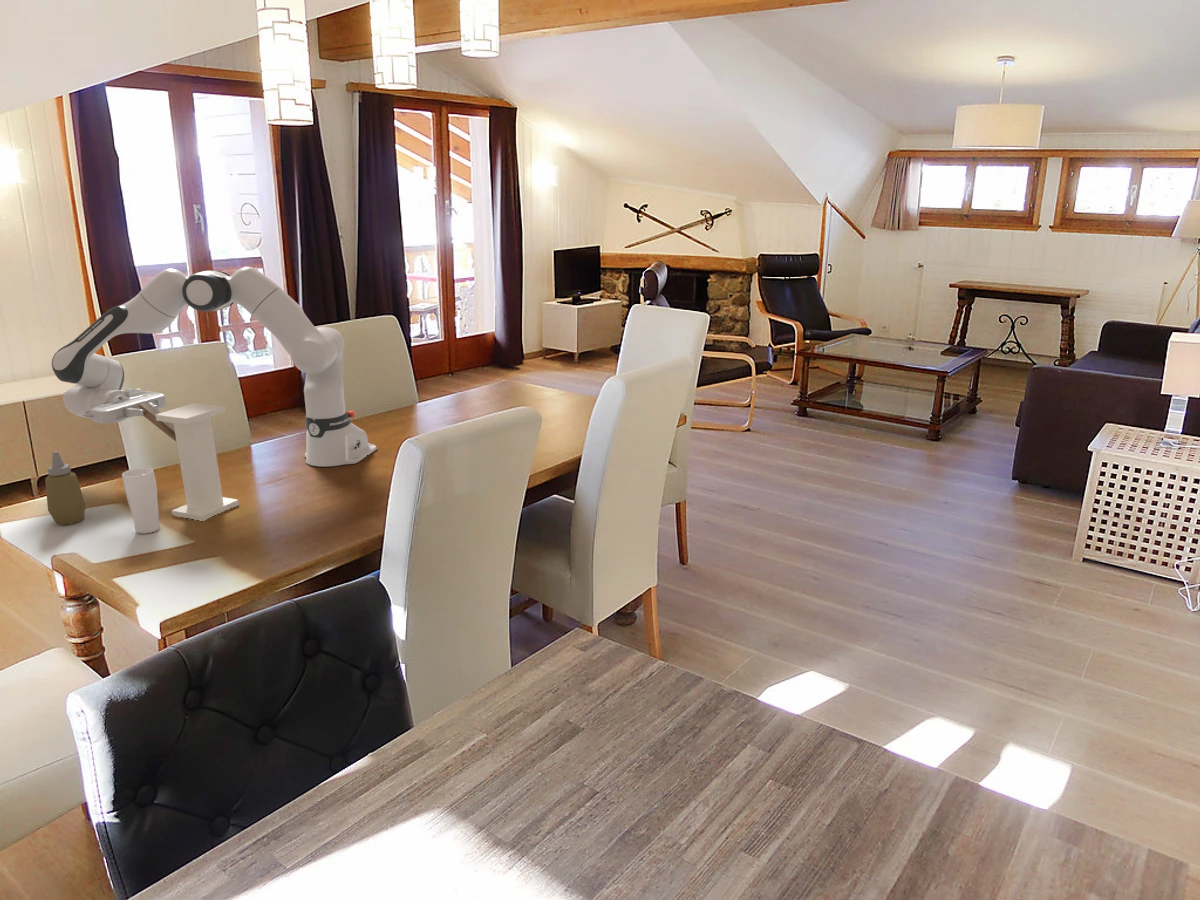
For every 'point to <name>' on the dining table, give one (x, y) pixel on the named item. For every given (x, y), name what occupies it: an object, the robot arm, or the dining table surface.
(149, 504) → the drinking glass
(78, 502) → the squeeze bottle
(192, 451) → the shelf stand
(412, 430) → the dining table surface
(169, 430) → the walnut bar
